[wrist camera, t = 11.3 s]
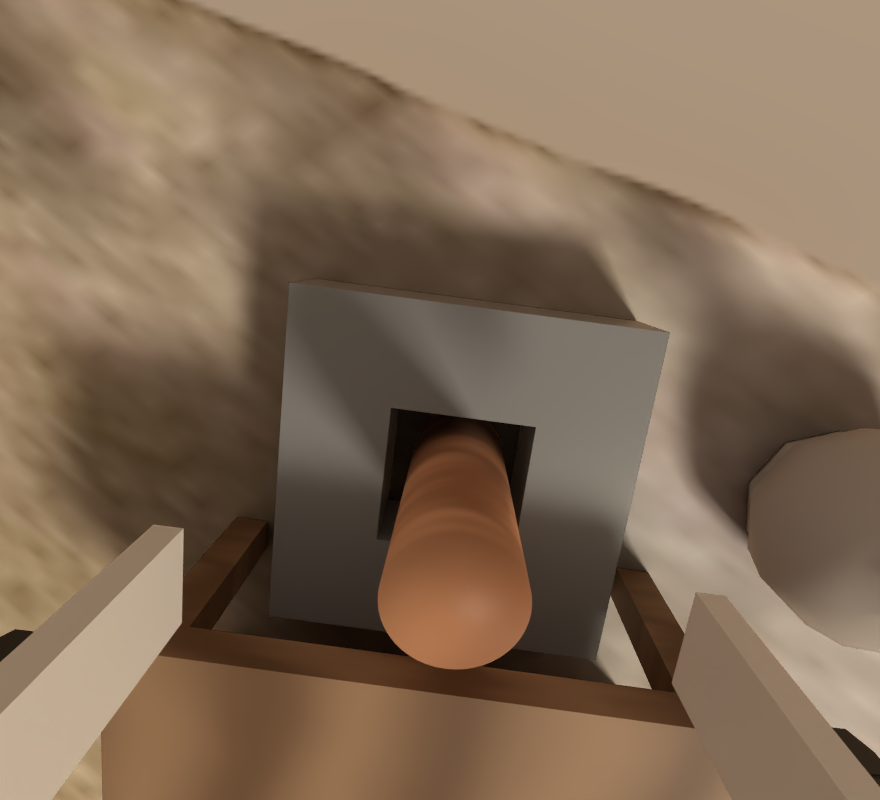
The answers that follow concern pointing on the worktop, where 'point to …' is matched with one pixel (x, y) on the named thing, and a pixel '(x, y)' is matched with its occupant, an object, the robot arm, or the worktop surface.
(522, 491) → the socket block
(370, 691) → the wooden bench
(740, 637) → the robot arm
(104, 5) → the worktop surface
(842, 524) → the potion bottle
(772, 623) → the worktop surface
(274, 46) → the worktop surface
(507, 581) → the peg
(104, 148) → the worktop surface
